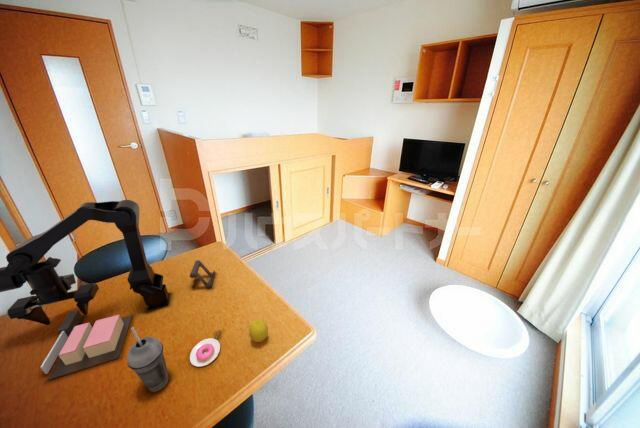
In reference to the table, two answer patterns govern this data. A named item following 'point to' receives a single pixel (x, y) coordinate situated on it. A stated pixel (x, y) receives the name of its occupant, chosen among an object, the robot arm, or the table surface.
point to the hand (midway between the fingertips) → (68, 319)
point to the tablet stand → (195, 274)
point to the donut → (204, 352)
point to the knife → (61, 338)
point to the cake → (103, 336)
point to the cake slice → (75, 344)
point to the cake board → (93, 361)
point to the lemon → (258, 330)
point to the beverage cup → (148, 362)
